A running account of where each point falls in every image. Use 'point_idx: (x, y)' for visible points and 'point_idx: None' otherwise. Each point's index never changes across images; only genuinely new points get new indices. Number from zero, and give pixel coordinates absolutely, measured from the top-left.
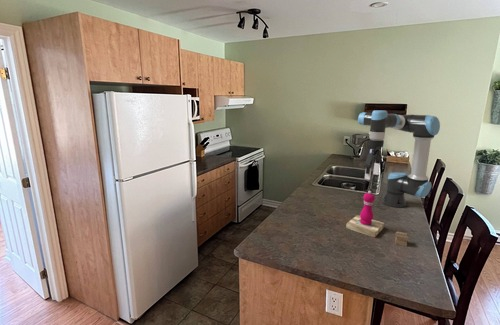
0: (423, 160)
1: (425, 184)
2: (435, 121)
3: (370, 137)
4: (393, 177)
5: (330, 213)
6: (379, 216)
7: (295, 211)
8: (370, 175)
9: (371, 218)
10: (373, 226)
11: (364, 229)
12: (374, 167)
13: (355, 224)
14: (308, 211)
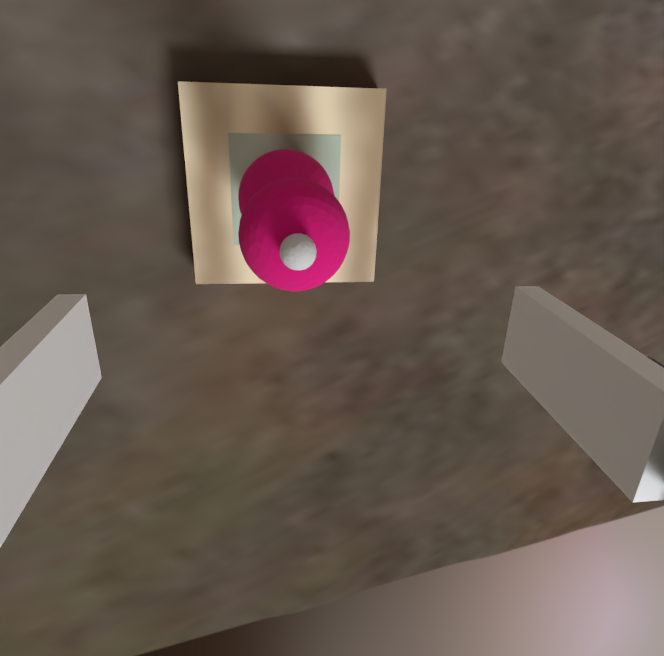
0: None
1: None
2: None
3: None
4: None
5: (242, 416)
6: (3, 172)
7: (358, 533)
8: (564, 315)
9: (306, 155)
10: (298, 129)
11: (380, 163)
12: (48, 454)
13: (352, 234)
14: (310, 498)
